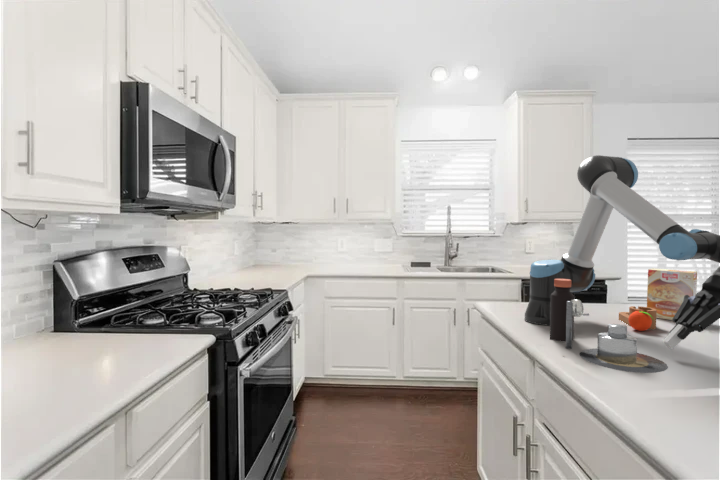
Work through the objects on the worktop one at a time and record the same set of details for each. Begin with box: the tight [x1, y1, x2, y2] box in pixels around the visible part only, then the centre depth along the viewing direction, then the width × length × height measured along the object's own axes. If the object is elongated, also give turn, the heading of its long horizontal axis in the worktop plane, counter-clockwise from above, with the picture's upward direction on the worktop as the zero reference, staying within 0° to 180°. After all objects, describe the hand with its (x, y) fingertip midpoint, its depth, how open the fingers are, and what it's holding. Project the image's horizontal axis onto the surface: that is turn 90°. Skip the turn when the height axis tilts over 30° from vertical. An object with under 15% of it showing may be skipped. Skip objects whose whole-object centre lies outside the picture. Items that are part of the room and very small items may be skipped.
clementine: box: [628, 311, 654, 332], centre depth 147 cm, size 8×7×7 cm
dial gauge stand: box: [565, 298, 590, 350], centre depth 122 cm, size 5×8×16 cm, turn 96°
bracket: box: [618, 305, 657, 331], centre depth 158 cm, size 18×8×7 cm, turn 168°
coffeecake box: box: [646, 267, 698, 321], centre depth 167 cm, size 15×7×20 cm, turn 43°
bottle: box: [549, 279, 575, 343], centre depth 132 cm, size 7×7×20 cm
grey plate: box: [579, 348, 669, 374], centre depth 112 cm, size 20×20×1 cm
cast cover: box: [597, 323, 638, 365], centre depth 112 cm, size 9×9×9 cm
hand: (667, 345), depth 114 cm, fingers closed
